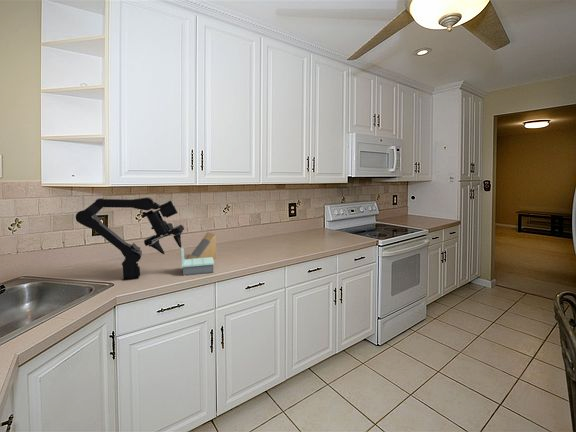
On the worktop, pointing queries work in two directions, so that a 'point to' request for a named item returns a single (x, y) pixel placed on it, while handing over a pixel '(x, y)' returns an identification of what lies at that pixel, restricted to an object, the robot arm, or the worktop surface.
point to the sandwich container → (205, 247)
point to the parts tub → (197, 270)
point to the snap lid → (195, 261)
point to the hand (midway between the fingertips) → (172, 250)
